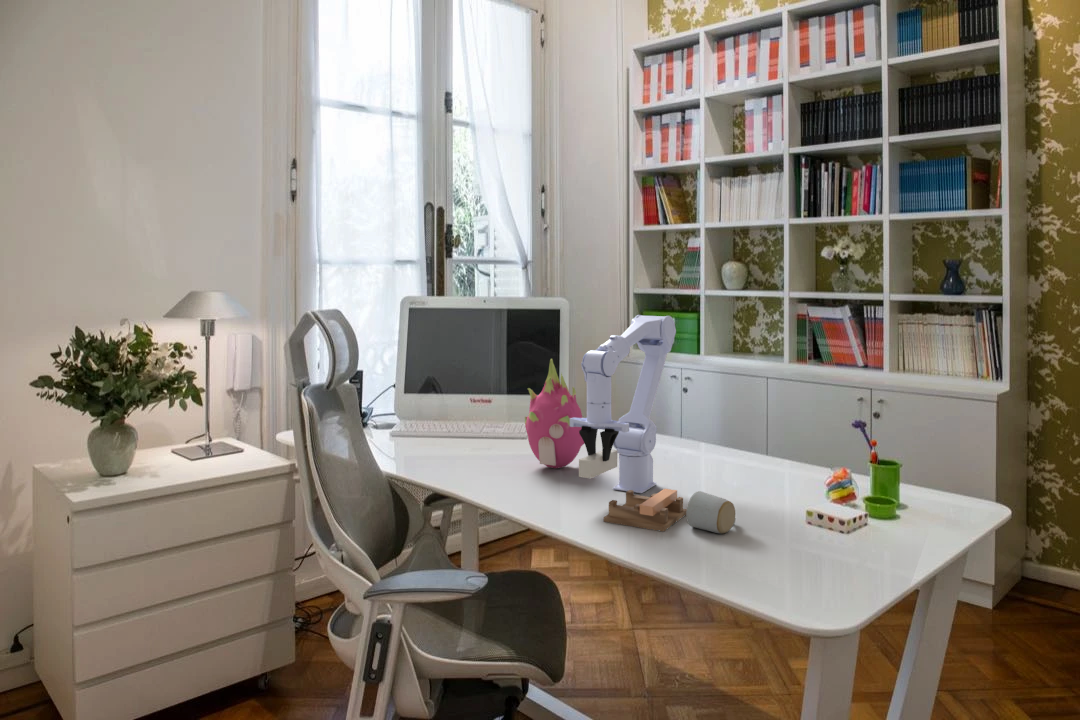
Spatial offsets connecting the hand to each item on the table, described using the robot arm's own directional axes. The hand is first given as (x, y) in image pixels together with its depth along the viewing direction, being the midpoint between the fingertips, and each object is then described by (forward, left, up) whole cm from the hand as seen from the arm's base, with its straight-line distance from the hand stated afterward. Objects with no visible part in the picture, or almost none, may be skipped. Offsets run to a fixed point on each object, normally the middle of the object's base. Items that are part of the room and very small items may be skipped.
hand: (599, 459), depth 190 cm
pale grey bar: (0, 0, -3) cm, 3 cm away
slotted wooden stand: (+5, +14, -10) cm, 18 cm away
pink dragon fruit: (-23, -25, -11) cm, 36 cm away
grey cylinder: (+5, +29, -11) cm, 32 cm away
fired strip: (+5, +17, -7) cm, 19 cm away
